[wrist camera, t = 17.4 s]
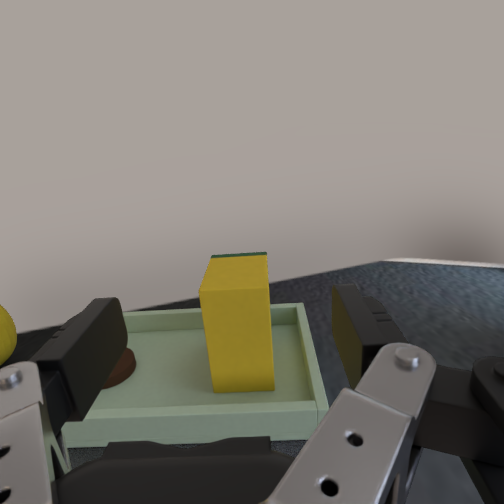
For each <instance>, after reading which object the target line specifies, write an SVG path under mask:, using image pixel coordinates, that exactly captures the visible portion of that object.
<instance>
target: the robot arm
mask: <svg viewBox="0 0 504 504" xmlns="http://www.w3.org/2000/svg"><path fill="white" fill-rule="evenodd" d="M332 331H333V337H334V340H335V343H336V346H337V349H338V352H339V355H340V357H341V360H342V363H343V366H344V369H345V372H346V375H347V378H348V381H349V383H350V386H351V388H349V387H345V388H344V389H343V390H342V391H341V392H340V394H339V395H338V397H337V398H336V400H335V401H334V402H333V404H332V405H331V407H330V408H329V410H328V411H327V413H326V414H325V416H324V417H323V419H322V420H321V422H320V423H319V425H318V426H317V428H316V429H315V431H314V432H313V433H312V435H311V436H310V438H309V439H308V441H307V442H306V444H305V445H304V447H303V448H302V450H301V451H300V453H299V454H298V456H297V457H296V459H295V458H293V457H291V456H289V455H287V454H284V453H281V452H278V451H274V450H271V440H270V436H255V437H230V438H226V439H222V440H219V441H215V442H211V443H207V444H204V445H200V446H196V447H193V448H188V449H184V448H179V447H174V446H170V445H165V444H161V443H157V442H152V441H121V442H109V443H108V445H107V447H106V449H105V451H104V453H103V455H102V457H100V458H97V459H94V460H91V461H89V462H86V463H84V464H82V465H80V466H78V467H76V468H74V469H73V470H72V469H71V465H70V460H69V455H68V450H67V446H66V441H65V436H64V434H63V431H62V427H63V425H64V424H65V422H82V421H83V420H84V418H85V416H86V415H87V413H88V411H89V410H90V408H91V406H92V405H93V403H94V401H95V400H96V398H97V396H98V395H99V393H100V391H101V390H102V388H103V386H104V385H105V383H106V381H107V380H108V378H109V376H110V375H111V373H112V371H113V370H114V368H115V366H116V365H117V363H118V361H119V360H120V358H121V356H122V355H123V353H124V351H125V349H126V347H127V343H128V333H127V328H126V325H125V321H124V317H123V313H122V309H121V305H120V302H119V300H118V299H117V298H115V297H113V298H98V299H94V300H93V301H92V302H91V303H90V304H89V305H88V306H87V307H86V308H85V309H84V310H83V311H82V312H80V313H79V314H77V315H76V316H74V317H73V318H71V319H69V320H68V321H67V322H66V323H65V324H64V325H63V326H62V327H61V328H60V329H59V331H57V332H56V333H55V334H54V335H53V336H52V339H49V340H48V341H47V342H46V343H45V344H44V345H43V346H42V347H41V348H40V349H39V350H38V351H37V352H36V353H35V354H34V355H33V356H32V357H31V358H30V359H29V360H28V361H23V362H18V363H14V364H11V365H8V366H6V367H3V368H1V369H0V504H405V503H406V500H407V497H408V494H409V491H410V488H411V485H412V482H413V479H414V476H415V472H416V469H417V466H418V463H419V460H420V457H421V454H422V451H423V448H428V449H432V450H436V451H440V452H444V453H448V454H452V455H456V456H459V457H460V458H461V460H462V462H463V464H464V466H465V468H466V470H467V472H468V473H469V475H470V477H471V479H472V481H473V483H474V485H475V487H476V488H477V490H478V492H479V494H480V496H481V498H482V500H483V502H484V503H485V504H504V358H501V357H482V358H479V359H477V360H476V361H475V362H474V364H473V368H472V371H468V370H462V369H456V368H450V367H445V366H441V365H437V364H436V362H435V360H434V358H433V357H432V356H431V355H430V354H429V353H428V352H427V351H425V350H424V349H422V348H420V347H417V346H415V345H411V344H409V343H408V341H407V340H406V338H405V337H404V335H403V334H402V332H401V331H400V329H399V328H398V327H397V325H396V324H395V322H394V321H393V320H392V318H391V316H390V315H389V314H388V312H387V310H386V309H385V308H384V306H383V305H382V303H380V302H379V301H377V300H376V299H374V298H373V297H371V296H366V297H362V295H361V294H360V292H359V290H358V289H357V287H356V285H355V284H341V285H333V288H332Z"/></svg>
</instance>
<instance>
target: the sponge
mask: <svg viewBox="0 0 504 504" xmlns="http://www.w3.org/2000/svg"><path fill="white" fill-rule="evenodd" d="M199 297H200V304H201V311H202V318H203V325H204V331H205V338H206V345H207V352H208V358H209V365H210V372H211V379H212V385H213V392H214V393H232V392H255V391H274V390H275V380H274V364H273V347H272V331H271V315H270V299H269V282H268V266H267V253H266V252H256V253H240V254H224V255H212V256H211V259H210V262H209V264H208V267H207V270H206V272H205V275H204V278H203V281H202V284H201V286H200V289H199Z"/></svg>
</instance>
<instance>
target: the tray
mask: <svg viewBox="0 0 504 504" xmlns="http://www.w3.org/2000/svg"><path fill="white" fill-rule="evenodd" d="M122 313H123V317H124V321H125V325H126V328H127V333H128V343H127V348H130V349H131V350H132V351H133V352H134V355H135V359H136V368H135V371H134V372H133V374H132V375H131V376H130V377H129V378H128V379H126V380H125V381H124V382H122V383H120V384H118V385H116V386H114V387H111V388H108V389H102V390H101V391H100V393H99V395H98V396H97V398H96V400H95V401H94V403H93V405H92V406H91V408H90V410H89V411H88V413H87V415H86V416H85V418H84V420H83V421H82V422H65V424H64V425H63V427H62V431H63V434H64V436H65V441H66V446H67V448H77V447H106V446H107V445H108V443H109V442H121V441H152V442H157V443H161V444H193V443H211V442H215V441H219V440H222V439H226V438H230V437H255V436H270V440H271V441H279V440H308V439H309V438H310V436H311V435H312V433H313V432H314V431H315V429H316V428H317V426H318V425H319V423H320V422H321V420H322V419H323V417H324V416H325V414H326V413H327V411H328V410H329V406H328V402H327V398H326V393H325V389H324V385H323V381H322V377H321V373H320V369H319V365H318V361H317V357H316V353H315V349H314V345H313V341H312V337H311V333H310V329H309V325H308V321H307V317H306V313H305V309H304V305H303V303H296V304H295V303H288V304H270V315H271V331H272V347H273V364H274V380H275V390H274V391H255V392H232V393H214V392H213V385H212V379H211V372H210V365H209V358H208V352H207V345H206V338H205V331H204V325H203V318H202V311H201V308H195V309H177V310H158V311H140V312H122Z"/></svg>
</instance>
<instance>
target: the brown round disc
mask: <svg viewBox="0 0 504 504" xmlns="http://www.w3.org/2000/svg"><path fill="white" fill-rule="evenodd" d="M135 368H136V359H135V355H134V352H133V351H132V350H131V349H130V348H127V347H126V349H125V351H124V353H123V355H122V356H121V358H120V360H119V361H118V363H117V365H116V366H115V368H114V370H113V371H112V373H111V375H110V376H109V378H108V380H107V381H106V383H105V385H104V386H103V388H102V389H108V388H111V387H114V386H116V385H118V384H120V383H122V382H124V381H125V380H126V379H128V378H129V377H130V376H131V375H132V374H133V372H134V371H135Z"/></svg>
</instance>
